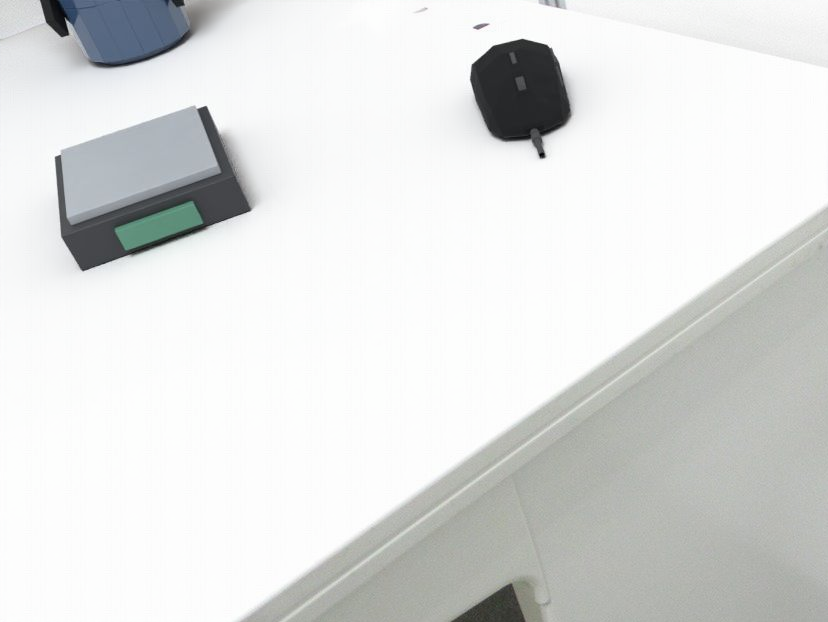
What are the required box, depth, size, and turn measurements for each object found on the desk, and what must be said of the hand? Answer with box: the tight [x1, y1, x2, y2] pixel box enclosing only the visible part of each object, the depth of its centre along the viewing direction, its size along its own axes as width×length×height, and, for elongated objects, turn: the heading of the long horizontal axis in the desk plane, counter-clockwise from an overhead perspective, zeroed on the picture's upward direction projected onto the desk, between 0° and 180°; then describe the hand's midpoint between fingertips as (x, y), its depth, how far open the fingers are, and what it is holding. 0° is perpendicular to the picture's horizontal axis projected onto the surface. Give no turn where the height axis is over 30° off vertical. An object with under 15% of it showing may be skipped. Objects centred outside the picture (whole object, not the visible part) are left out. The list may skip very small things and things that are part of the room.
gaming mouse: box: [469, 38, 571, 159], centre depth 73 cm, size 6×15×4 cm, turn 12°
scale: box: [54, 104, 252, 272], centre depth 73 cm, size 15×11×3 cm
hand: (116, 13), depth 95 cm, fingers closed on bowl, 10 cm apart
